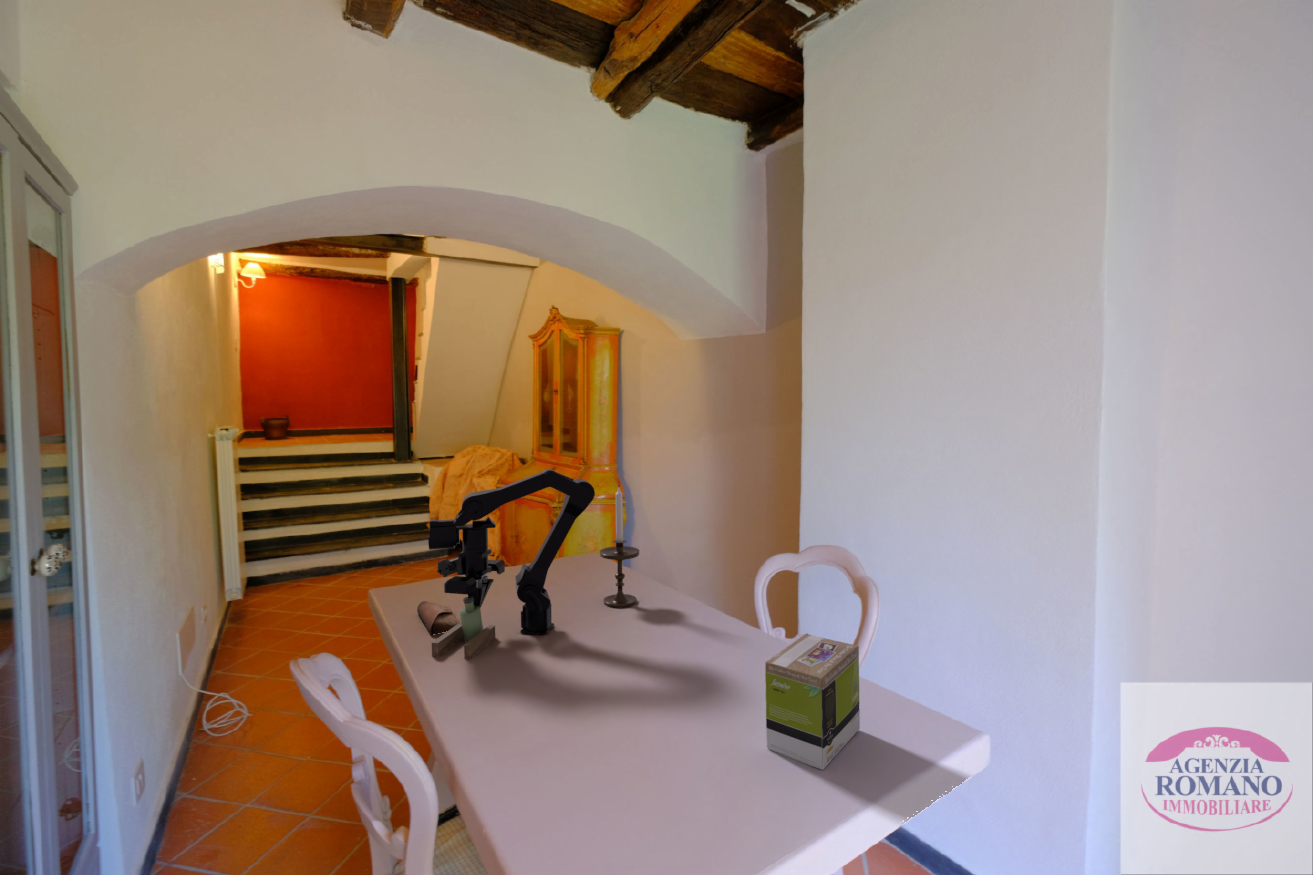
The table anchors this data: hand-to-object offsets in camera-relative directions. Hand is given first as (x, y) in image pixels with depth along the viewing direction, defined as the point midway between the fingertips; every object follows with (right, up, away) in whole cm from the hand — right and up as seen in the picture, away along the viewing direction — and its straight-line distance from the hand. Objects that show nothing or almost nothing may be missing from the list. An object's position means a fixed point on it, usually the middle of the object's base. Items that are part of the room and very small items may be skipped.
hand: (476, 611), depth 145 cm
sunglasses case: (-12, -6, +10) cm, 17 cm away
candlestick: (+33, -4, +24) cm, 41 cm away
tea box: (+69, -9, -45) cm, 82 cm away
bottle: (0, -6, -2) cm, 6 cm away
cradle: (-1, -6, -6) cm, 9 cm away
